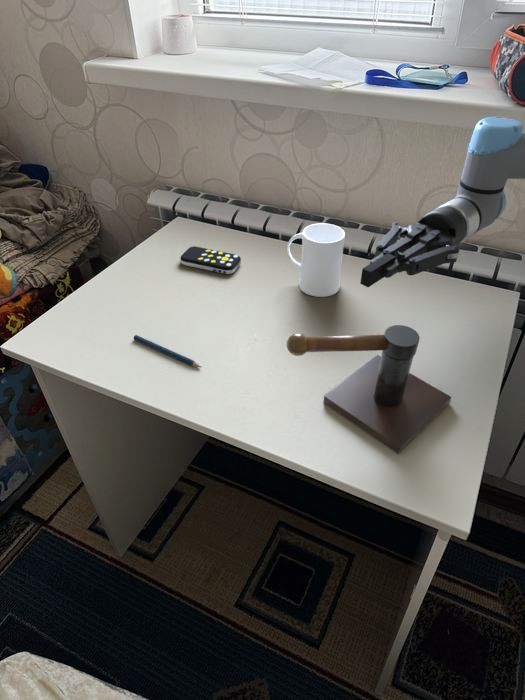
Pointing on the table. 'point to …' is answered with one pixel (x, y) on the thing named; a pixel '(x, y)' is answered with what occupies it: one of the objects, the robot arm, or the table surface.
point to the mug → (320, 259)
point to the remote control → (210, 260)
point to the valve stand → (387, 401)
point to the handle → (359, 343)
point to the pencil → (166, 351)
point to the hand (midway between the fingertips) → (365, 277)
